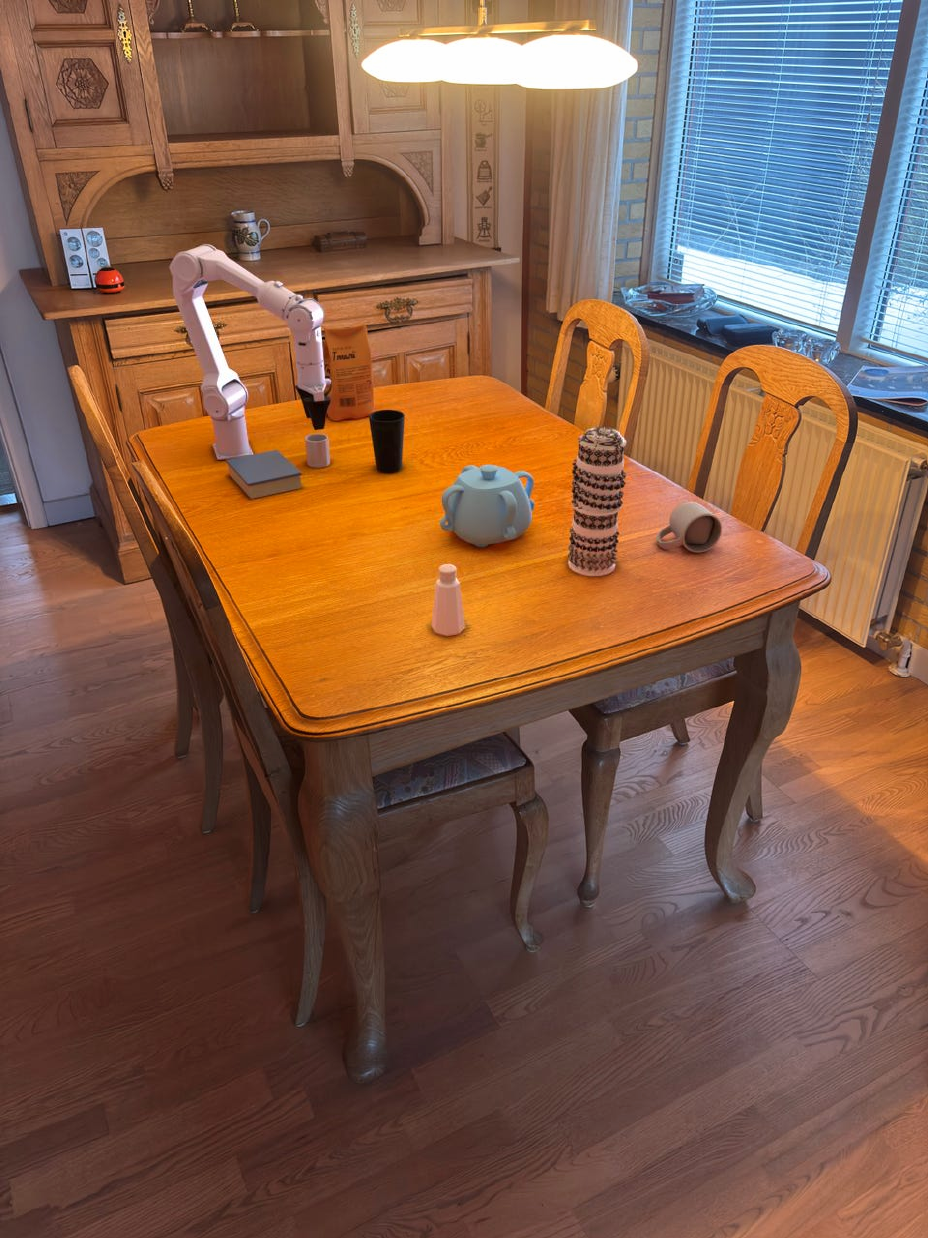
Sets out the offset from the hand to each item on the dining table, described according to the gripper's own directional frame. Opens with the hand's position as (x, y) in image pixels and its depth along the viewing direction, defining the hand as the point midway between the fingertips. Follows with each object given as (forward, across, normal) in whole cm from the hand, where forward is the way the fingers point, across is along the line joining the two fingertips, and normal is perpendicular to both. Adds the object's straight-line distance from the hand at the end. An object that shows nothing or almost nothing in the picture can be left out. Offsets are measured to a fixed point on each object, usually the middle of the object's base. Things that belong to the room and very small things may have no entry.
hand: (315, 423), depth 202 cm
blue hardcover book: (+9, -6, +13) cm, 17 cm away
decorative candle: (+10, -63, -36) cm, 73 cm away
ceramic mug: (+10, -62, -56) cm, 84 cm away
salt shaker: (+10, -74, -5) cm, 75 cm away
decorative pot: (+10, -45, -23) cm, 51 cm away
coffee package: (+10, +29, -14) cm, 34 cm away
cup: (+10, -8, -14) cm, 19 cm away
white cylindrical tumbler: (+9, 0, 0) cm, 9 cm away
